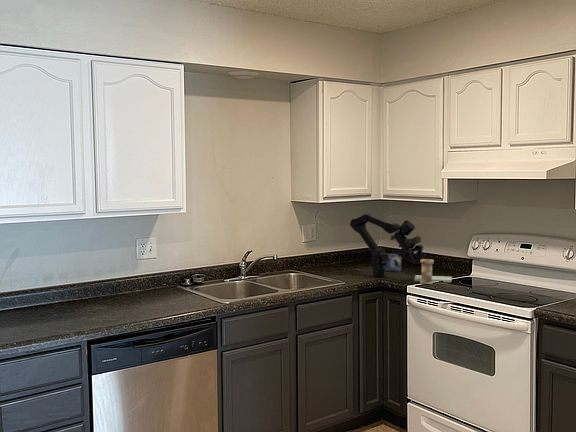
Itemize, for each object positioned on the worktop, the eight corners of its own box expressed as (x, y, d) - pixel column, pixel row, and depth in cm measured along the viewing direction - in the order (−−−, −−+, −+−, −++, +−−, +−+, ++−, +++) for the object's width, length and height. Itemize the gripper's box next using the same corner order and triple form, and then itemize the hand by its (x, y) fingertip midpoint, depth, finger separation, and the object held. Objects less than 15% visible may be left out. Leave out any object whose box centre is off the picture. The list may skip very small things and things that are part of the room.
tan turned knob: (419, 284, 324) (419, 260, 323) (420, 281, 331) (420, 258, 330) (433, 284, 322) (433, 261, 322) (433, 282, 329) (434, 259, 328)
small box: (383, 271, 366) (383, 254, 366) (384, 269, 373) (384, 253, 372) (401, 272, 364) (401, 255, 363) (401, 270, 370) (401, 253, 370)
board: (414, 280, 335) (414, 278, 334) (415, 277, 346) (415, 275, 346) (451, 282, 329) (451, 280, 329) (451, 278, 341) (451, 276, 341)
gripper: (402, 232, 325) (420, 254, 318) (420, 230, 338) (438, 251, 332) (390, 246, 331) (407, 267, 324) (408, 243, 344) (425, 264, 338)
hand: (419, 262), depth 329 cm, fingers open, 9 cm apart
